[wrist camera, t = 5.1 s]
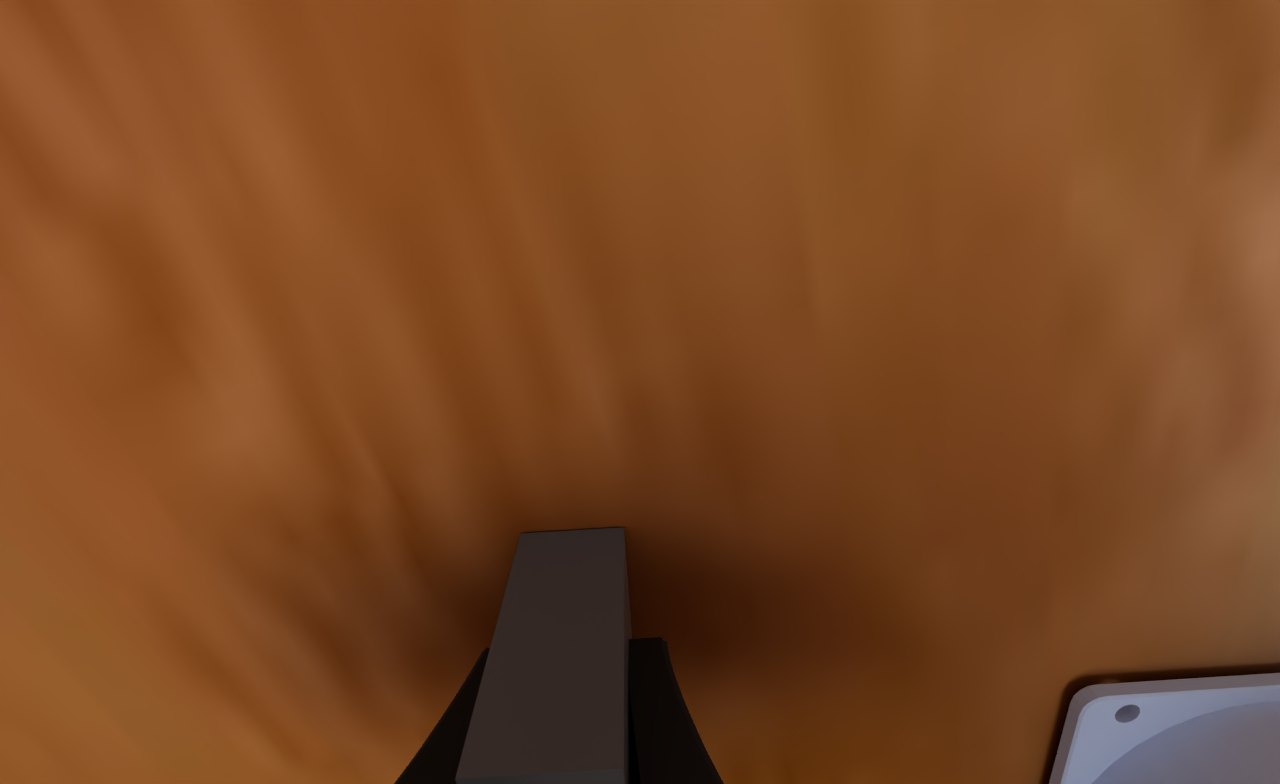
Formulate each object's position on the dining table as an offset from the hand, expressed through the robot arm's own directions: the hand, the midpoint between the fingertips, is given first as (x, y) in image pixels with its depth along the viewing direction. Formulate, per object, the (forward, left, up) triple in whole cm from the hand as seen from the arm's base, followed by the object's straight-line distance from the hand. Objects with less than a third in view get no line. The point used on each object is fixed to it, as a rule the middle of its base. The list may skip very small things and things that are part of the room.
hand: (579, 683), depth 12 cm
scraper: (0, +8, -1) cm, 8 cm away
